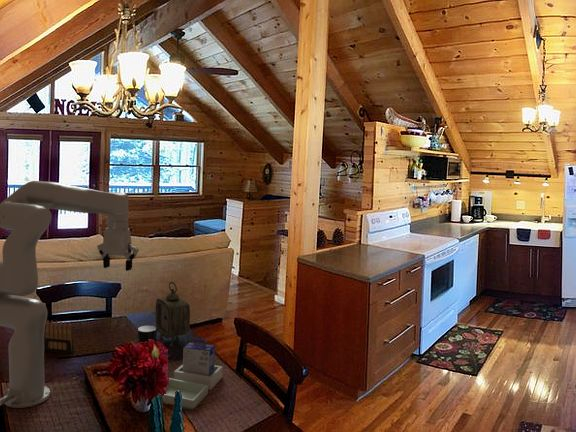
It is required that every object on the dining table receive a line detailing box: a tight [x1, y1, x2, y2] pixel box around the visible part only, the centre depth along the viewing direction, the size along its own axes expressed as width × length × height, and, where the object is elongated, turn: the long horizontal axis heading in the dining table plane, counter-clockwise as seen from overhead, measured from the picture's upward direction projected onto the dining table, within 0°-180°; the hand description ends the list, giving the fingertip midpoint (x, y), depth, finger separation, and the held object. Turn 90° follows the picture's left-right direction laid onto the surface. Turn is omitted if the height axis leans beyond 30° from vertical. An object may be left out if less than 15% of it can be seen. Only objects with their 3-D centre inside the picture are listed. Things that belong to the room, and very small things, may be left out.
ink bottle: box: [134, 324, 160, 344], centre depth 180 cm, size 10×9×12 cm
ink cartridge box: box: [182, 337, 216, 377], centre depth 166 cm, size 10×6×14 cm, turn 79°
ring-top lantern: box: [155, 281, 191, 348], centre depth 198 cm, size 14×9×25 cm, turn 37°
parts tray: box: [162, 377, 209, 411], centre depth 154 cm, size 10×14×3 cm
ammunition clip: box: [44, 319, 74, 354], centre depth 184 cm, size 11×2×12 cm, turn 83°
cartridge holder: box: [173, 363, 224, 391], centre depth 167 cm, size 10×14×4 cm
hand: (117, 268), depth 188 cm, fingers open, 9 cm apart
